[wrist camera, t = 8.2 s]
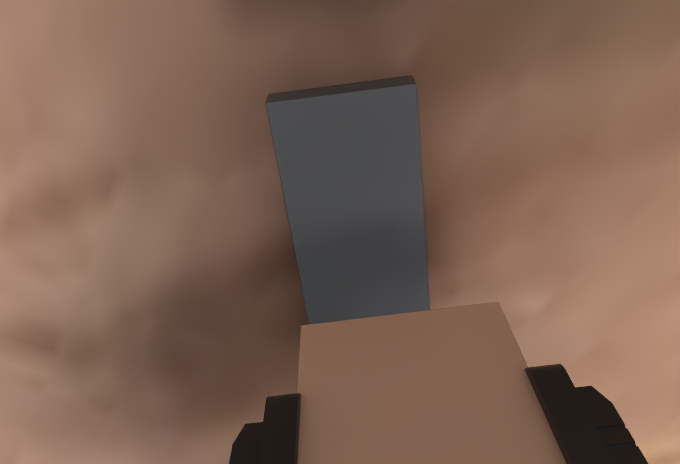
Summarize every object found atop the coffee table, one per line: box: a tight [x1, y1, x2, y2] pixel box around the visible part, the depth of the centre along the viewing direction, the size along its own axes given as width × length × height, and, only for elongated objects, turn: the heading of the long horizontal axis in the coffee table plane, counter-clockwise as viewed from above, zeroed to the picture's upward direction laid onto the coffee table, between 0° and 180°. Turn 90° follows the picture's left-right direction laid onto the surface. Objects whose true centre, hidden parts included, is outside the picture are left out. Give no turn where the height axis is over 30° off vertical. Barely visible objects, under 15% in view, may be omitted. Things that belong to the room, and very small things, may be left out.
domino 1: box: [266, 76, 430, 324], centre depth 22 cm, size 5×2×10 cm
